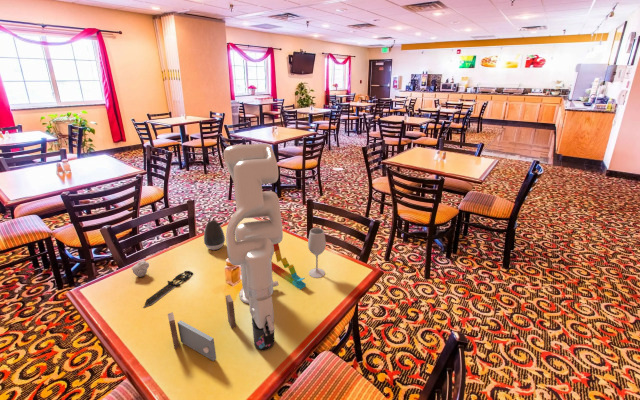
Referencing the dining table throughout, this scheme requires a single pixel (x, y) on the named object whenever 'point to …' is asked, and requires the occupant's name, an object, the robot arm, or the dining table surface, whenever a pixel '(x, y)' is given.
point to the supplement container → (260, 337)
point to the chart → (292, 277)
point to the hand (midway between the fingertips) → (263, 333)
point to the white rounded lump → (140, 268)
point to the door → (197, 340)
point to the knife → (167, 288)
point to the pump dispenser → (214, 235)
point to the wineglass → (316, 249)
